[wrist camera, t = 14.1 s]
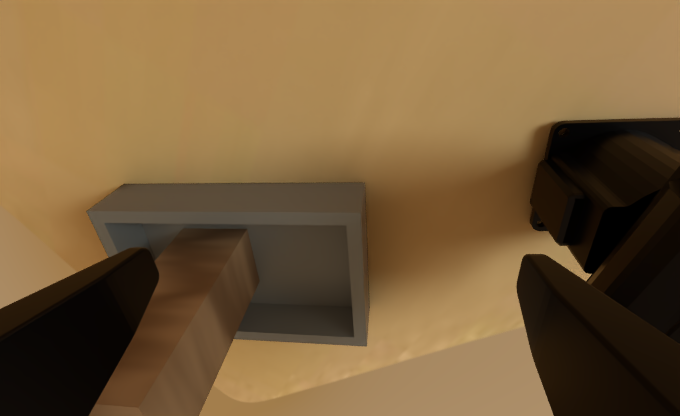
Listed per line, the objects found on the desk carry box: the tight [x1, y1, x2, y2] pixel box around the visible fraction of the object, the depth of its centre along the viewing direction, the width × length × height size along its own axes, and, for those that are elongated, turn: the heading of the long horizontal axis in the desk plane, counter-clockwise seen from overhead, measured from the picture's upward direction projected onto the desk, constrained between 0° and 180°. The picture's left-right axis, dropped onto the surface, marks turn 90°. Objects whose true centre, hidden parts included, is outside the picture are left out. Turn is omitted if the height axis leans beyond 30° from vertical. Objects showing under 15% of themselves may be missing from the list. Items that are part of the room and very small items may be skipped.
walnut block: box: [89, 228, 260, 416], centre depth 20 cm, size 4×4×12 cm
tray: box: [86, 183, 370, 346], centre depth 24 cm, size 16×10×4 cm, turn 94°
